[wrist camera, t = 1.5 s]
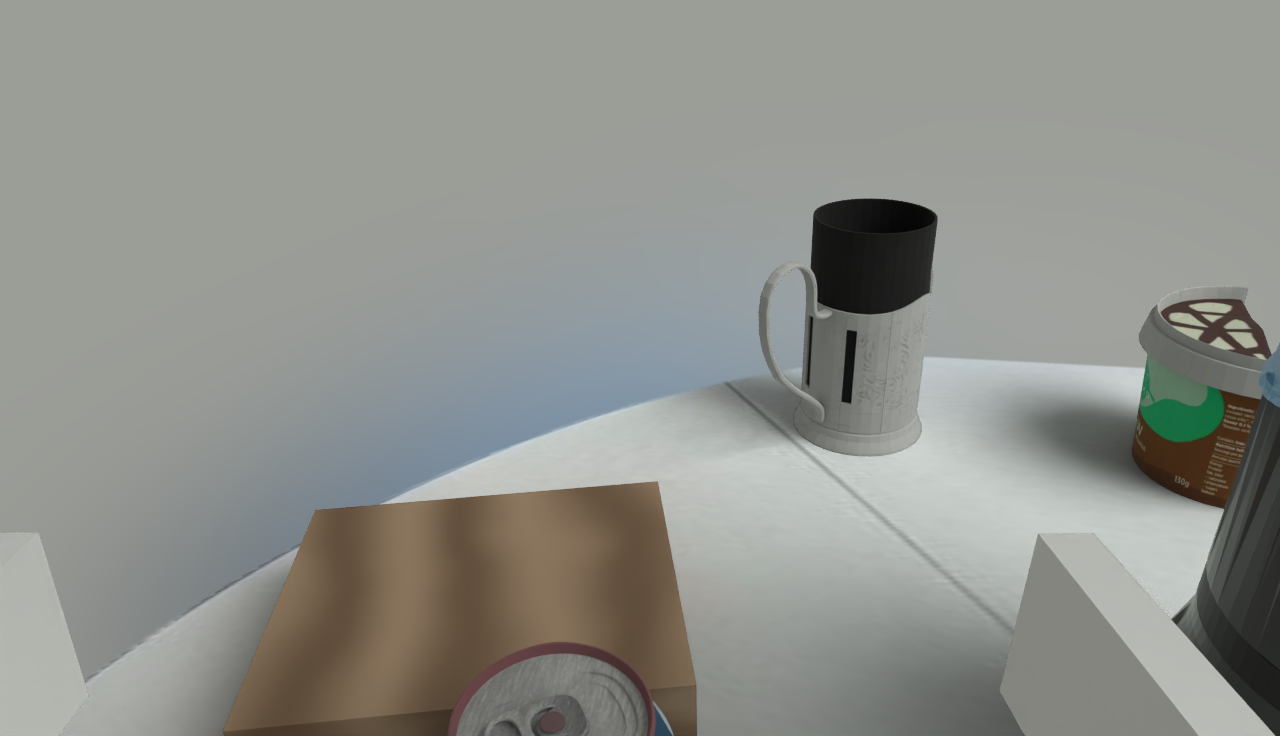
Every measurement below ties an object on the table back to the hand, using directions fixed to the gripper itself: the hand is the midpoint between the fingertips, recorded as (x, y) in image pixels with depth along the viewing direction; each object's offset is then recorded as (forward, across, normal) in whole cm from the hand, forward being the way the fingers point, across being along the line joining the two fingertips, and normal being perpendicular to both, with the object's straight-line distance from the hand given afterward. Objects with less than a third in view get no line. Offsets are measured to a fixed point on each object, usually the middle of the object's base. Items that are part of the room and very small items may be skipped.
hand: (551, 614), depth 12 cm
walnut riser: (+23, -5, -22) cm, 32 cm away
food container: (+37, +36, -19) cm, 55 cm away
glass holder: (+42, +16, -20) cm, 49 cm away
